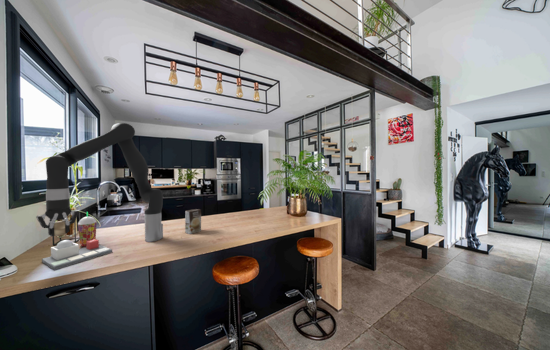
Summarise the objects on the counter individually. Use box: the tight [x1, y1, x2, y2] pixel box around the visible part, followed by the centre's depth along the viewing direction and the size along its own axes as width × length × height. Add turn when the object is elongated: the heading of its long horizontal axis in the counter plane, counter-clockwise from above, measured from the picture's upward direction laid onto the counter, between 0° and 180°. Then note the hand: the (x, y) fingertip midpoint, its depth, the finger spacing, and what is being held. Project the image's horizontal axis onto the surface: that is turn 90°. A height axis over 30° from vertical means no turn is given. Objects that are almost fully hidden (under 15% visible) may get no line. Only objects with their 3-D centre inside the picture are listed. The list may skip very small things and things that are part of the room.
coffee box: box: [184, 208, 202, 235], centre depth 144 cm, size 9×6×16 cm
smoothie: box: [77, 211, 98, 247], centre depth 119 cm, size 8×8×20 cm
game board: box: [41, 239, 113, 271], centre depth 103 cm, size 22×17×6 cm
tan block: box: [53, 220, 66, 237], centre depth 93 cm, size 4×4×6 cm
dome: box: [55, 239, 74, 249], centre depth 101 cm, size 6×6×6 cm
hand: (59, 234), depth 93 cm, fingers closed on tan block, 4 cm apart
